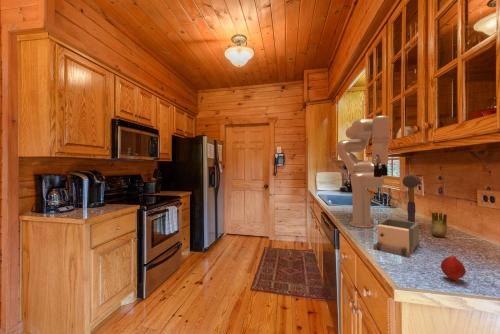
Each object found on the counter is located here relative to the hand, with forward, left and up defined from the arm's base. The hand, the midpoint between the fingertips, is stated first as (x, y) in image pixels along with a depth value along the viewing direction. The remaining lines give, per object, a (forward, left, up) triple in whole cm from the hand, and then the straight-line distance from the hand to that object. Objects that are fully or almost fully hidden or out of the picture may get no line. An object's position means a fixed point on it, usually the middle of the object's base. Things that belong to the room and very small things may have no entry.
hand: (380, 176), depth 114 cm
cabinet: (+10, +9, -30) cm, 33 cm away
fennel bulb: (-20, +20, -31) cm, 42 cm away
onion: (+30, +29, -30) cm, 52 cm away
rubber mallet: (-30, +7, -30) cm, 43 cm away
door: (+16, +9, -30) cm, 35 cm away
